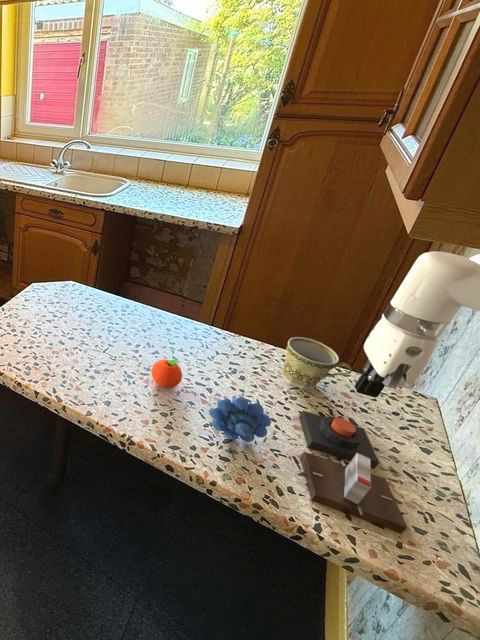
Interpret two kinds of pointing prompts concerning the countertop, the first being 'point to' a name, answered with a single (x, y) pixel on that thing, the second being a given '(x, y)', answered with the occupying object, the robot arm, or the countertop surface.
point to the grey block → (357, 478)
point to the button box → (335, 439)
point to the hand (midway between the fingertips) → (365, 392)
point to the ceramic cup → (309, 362)
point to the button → (343, 427)
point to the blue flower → (240, 419)
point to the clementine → (166, 373)
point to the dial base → (329, 491)
